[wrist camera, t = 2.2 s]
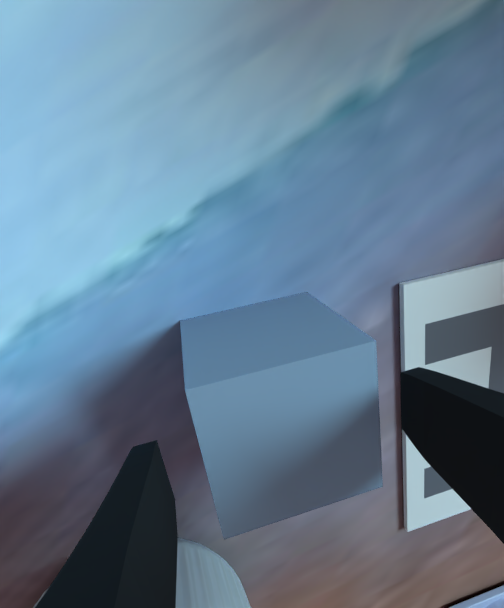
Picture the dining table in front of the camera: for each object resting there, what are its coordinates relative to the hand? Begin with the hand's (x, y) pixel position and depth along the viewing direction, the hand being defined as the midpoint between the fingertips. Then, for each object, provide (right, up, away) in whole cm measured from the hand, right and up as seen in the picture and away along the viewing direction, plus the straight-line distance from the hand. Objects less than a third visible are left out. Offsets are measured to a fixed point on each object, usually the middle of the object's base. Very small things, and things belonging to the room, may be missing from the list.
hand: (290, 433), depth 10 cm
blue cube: (-1, +1, +4) cm, 5 cm away
